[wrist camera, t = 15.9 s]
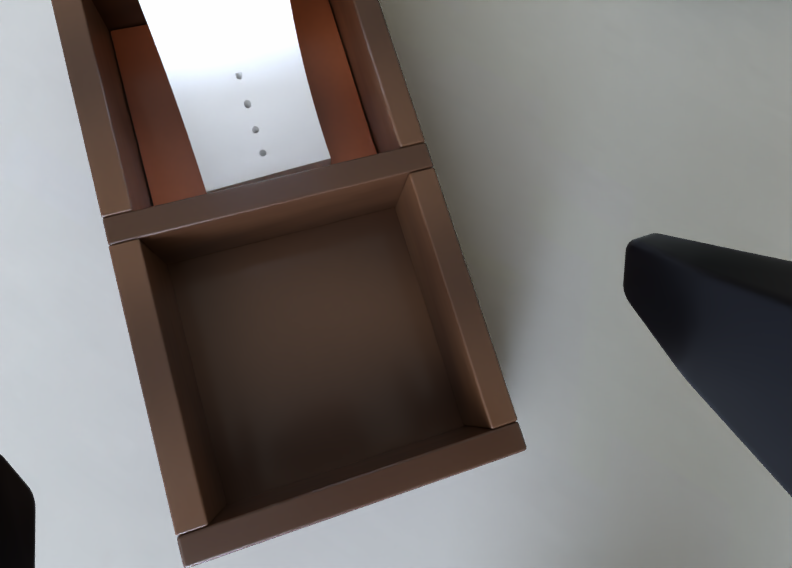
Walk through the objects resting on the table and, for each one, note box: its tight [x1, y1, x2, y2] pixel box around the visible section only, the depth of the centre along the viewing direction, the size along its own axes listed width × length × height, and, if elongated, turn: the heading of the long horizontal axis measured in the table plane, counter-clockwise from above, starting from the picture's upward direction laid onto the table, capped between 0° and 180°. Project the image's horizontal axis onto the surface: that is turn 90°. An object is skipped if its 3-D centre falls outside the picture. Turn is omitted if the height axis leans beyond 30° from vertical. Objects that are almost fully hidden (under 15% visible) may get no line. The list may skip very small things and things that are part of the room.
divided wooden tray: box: [51, 0, 526, 568], centre depth 20 cm, size 20×10×4 cm, turn 17°
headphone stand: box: [138, 0, 331, 193], centre depth 16 cm, size 5×6×12 cm
